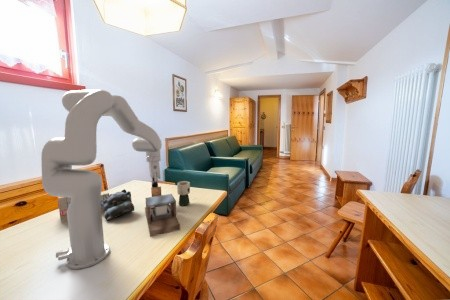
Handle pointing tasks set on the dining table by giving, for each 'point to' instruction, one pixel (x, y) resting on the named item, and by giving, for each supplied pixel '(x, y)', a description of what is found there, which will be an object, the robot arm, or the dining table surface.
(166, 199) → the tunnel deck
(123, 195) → the lucky cat figurine
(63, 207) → the stack of blocks
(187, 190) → the character mug
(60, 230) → the dining table surface
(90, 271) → the dining table surface
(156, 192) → the sled
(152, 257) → the dining table surface
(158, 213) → the block
